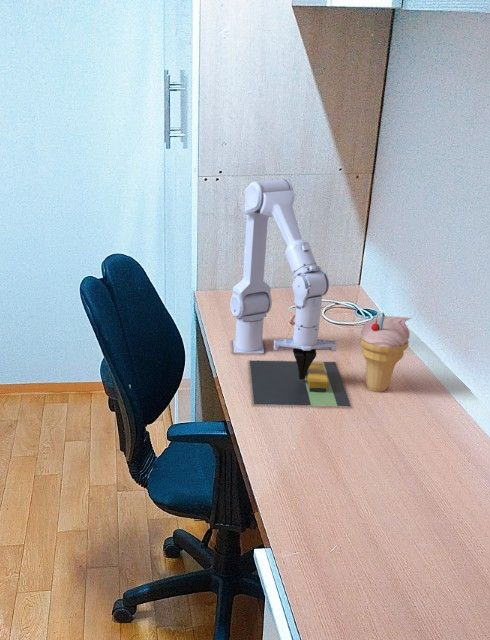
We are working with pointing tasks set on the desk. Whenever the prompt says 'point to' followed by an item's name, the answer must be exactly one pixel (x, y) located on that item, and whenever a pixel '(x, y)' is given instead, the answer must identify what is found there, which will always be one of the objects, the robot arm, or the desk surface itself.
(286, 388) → the desk mat
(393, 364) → the ice cream cone
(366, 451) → the desk surface
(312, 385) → the gold bar
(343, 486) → the desk surface
